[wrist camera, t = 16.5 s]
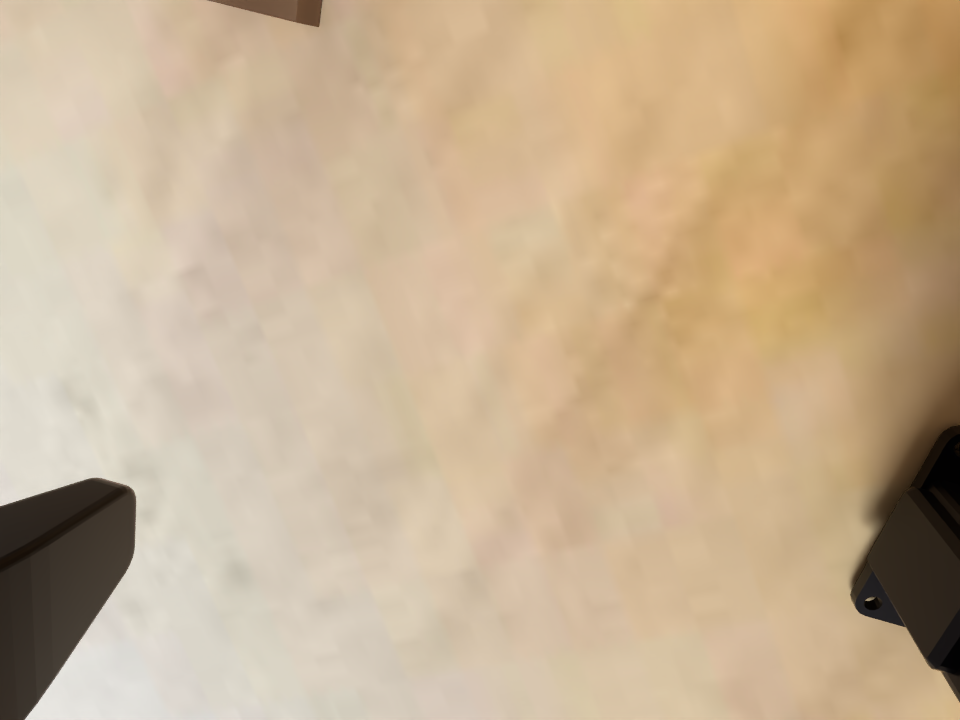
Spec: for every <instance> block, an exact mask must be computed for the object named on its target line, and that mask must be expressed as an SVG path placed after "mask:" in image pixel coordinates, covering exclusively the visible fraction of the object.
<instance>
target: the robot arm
mask: <svg viewBox="0 0 960 720" xmlns="http://www.w3.org/2000/svg"><path fill="white" fill-rule="evenodd" d="M959 442H960V425H958V426H954V427H950V428H949V429H947V430H945V431H944V432H943V433H942V434H941V435H940V436H939V438H938V440H937V441H936V443H935V445H934V447H933V448H932V450H931V452H930V454H929V455H928V457H927V459H926V461H925V462H924V464H923V466H922V468H921V469H920V471H919V473H918V475H917V476H916V478H915V480H914V482H913V484H912V485H911V487H910V488H909V489H908V490H907V491H905V492H904V493H903V495H902V496H901V498H900V500H899V502H898V503H897V505H896V507H895V509H894V511H893V512H892V514H891V516H890V518H889V519H888V521H887V523H886V525H885V526H884V528H883V530H882V532H881V533H880V535H879V537H878V539H877V540H876V542H875V544H874V546H873V547H872V549H871V551H870V553H869V555H868V557H867V560H868V562H867V564H866V566H865V568H864V569H863V571H862V573H861V575H860V576H859V578H858V580H857V582H856V583H855V585H854V587H853V589H852V591H851V594H850V596H851V600H852V602H853V604H854V606H855V608H856V609H857V610H858V612H859V613H861V614H863V615H865V616H868V617H871V618H875V619H878V620H882V621H885V622H889V623H893V624H896V625H900V626H903V627H906V628H907V630H908V631H909V633H910V635H911V637H912V638H913V640H914V642H915V643H916V645H917V647H918V649H919V650H920V652H921V654H922V655H923V657H924V659H925V661H926V662H927V664H928V665H929V666H930V667H931V668H932V669H934V670H938V671H941V672H942V674H943V676H944V677H945V679H946V681H947V682H948V684H949V686H950V687H951V689H952V691H953V692H954V694H955V696H956V697H957V699H958V701H959V702H960V449H959V450H954V448H955V446H956V445H957V444H958V443H959ZM135 522H136V496H135V493H134V491H133V489H131V488H130V487H129V486H127V485H123V484H120V483H116V482H113V481H109V480H106V479H102V478H90V479H86V480H83V481H80V482H77V483H74V484H70V485H67V486H64V487H61V488H58V489H54V490H51V491H48V492H45V493H42V494H38V495H35V496H32V497H29V498H26V499H22V500H19V501H16V502H13V503H10V504H6V505H3V506H0V720H25V718H26V717H27V716H28V714H29V713H30V712H31V711H32V709H33V708H34V707H35V706H36V704H37V703H38V702H39V700H40V699H41V697H42V696H43V694H44V693H45V692H46V690H47V689H48V687H49V686H50V685H51V683H52V682H53V680H54V679H55V677H56V676H57V674H58V673H59V671H60V670H61V668H62V667H63V665H64V664H65V662H66V661H67V659H68V658H69V656H70V655H71V653H72V652H73V650H74V649H75V647H76V646H77V644H78V643H79V642H80V640H81V639H82V637H83V636H84V634H85V633H86V631H87V630H88V628H89V627H90V625H91V624H92V622H93V621H94V619H95V618H96V616H97V615H98V613H99V612H100V610H101V609H102V607H103V606H104V604H105V603H106V601H107V600H108V598H109V597H110V595H111V594H112V592H113V591H114V589H115V588H116V586H117V585H118V583H119V582H120V580H121V579H122V577H123V576H124V574H125V573H126V571H127V569H128V567H129V565H130V563H131V560H132V558H133V554H134V548H135ZM869 597H876V598H875V599H874V600H871V601H865V600H866V599H867V598H869Z"/></svg>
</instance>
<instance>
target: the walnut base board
mask: <svg viewBox="0 0 960 720" xmlns="http://www.w3.org/2000/svg"><path fill="white" fill-rule="evenodd" d="M209 1H213V2H217V3H221V4H225V5H229V6H233V7H237V8H241V9H245V10H249V11H253V12H257V13H261V14H265V15H269V16H273V17H277V18H281V19H285V20H289V21H293V22H297V23H302V24H307V25H311V26H316V27H319V21H320V13H321V4H322V0H209Z"/></svg>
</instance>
